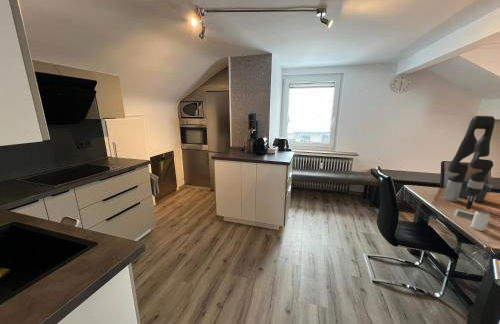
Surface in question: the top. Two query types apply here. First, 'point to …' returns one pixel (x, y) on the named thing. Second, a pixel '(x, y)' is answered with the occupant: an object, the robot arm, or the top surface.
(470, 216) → the tile
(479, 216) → the can
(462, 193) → the storage bin
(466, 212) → the mat
